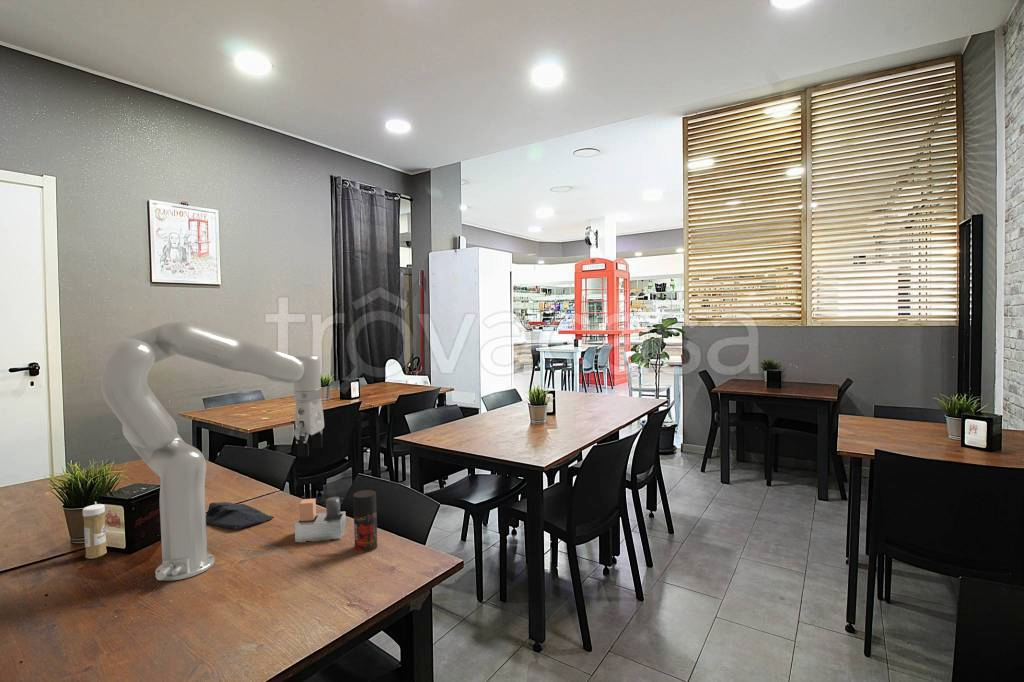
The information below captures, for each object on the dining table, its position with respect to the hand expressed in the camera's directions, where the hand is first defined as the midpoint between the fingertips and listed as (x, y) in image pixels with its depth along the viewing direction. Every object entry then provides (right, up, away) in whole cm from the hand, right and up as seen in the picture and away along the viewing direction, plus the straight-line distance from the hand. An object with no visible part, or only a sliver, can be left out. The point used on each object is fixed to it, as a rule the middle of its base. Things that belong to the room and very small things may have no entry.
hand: (310, 451), depth 150 cm
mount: (+6, -23, -6) cm, 24 cm away
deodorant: (+21, -23, -14) cm, 35 cm away
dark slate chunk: (-27, -24, +7) cm, 36 cm away
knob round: (+9, -18, -5) cm, 20 cm away
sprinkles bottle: (-52, -25, -16) cm, 59 cm away
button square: (+2, -18, -7) cm, 19 cm away
